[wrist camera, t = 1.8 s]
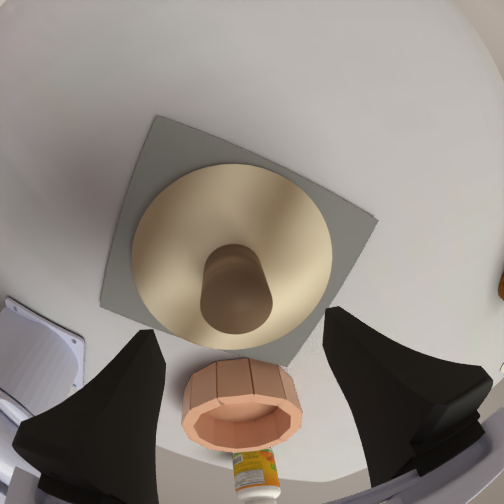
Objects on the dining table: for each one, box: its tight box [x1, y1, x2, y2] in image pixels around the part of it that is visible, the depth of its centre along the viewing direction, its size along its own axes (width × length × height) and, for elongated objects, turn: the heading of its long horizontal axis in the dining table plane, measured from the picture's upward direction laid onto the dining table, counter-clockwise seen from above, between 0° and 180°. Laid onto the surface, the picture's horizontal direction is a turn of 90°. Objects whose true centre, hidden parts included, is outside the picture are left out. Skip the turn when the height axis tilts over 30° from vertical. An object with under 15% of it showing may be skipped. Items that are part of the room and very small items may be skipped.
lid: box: [131, 164, 332, 350], centre depth 15 cm, size 13×13×5 cm
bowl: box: [181, 358, 303, 453], centre depth 21 cm, size 10×10×4 cm
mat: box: [100, 115, 379, 367], centre depth 18 cm, size 16×14×1 cm
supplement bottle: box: [233, 447, 281, 504], centre depth 24 cm, size 5×5×10 cm
